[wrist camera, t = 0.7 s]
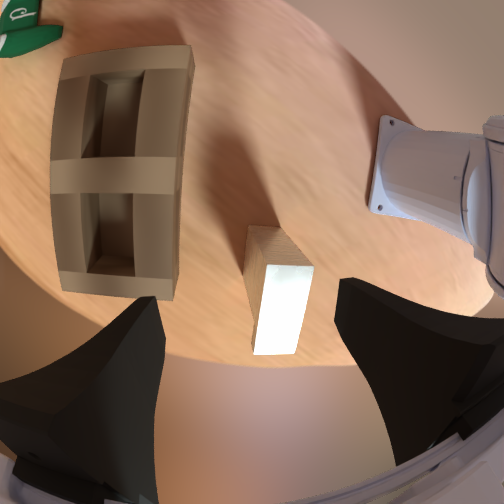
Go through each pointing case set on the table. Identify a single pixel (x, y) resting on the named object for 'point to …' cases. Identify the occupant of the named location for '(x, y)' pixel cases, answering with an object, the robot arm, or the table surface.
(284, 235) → the white rectangular pillar
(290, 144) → the table surface
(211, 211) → the table surface
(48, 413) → the robot arm
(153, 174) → the tan divided tray
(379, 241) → the table surface
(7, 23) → the green elongated piece
